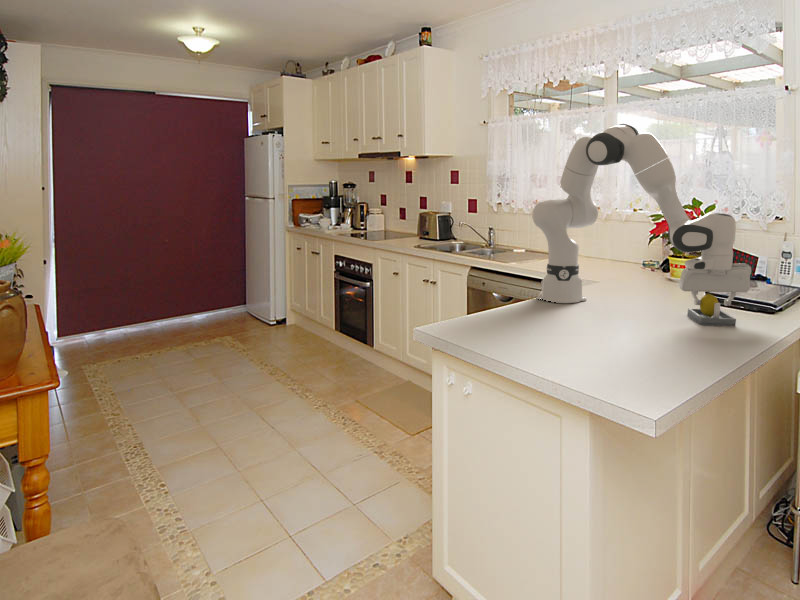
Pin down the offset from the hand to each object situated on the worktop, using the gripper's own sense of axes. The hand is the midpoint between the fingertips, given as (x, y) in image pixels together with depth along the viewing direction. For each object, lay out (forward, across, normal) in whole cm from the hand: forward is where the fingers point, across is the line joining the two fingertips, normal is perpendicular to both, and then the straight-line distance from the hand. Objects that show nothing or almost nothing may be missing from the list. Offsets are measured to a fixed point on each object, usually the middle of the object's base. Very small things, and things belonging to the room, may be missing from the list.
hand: (712, 305), depth 181 cm
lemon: (+4, 0, 0) cm, 4 cm away
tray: (+5, 0, 0) cm, 5 cm away
